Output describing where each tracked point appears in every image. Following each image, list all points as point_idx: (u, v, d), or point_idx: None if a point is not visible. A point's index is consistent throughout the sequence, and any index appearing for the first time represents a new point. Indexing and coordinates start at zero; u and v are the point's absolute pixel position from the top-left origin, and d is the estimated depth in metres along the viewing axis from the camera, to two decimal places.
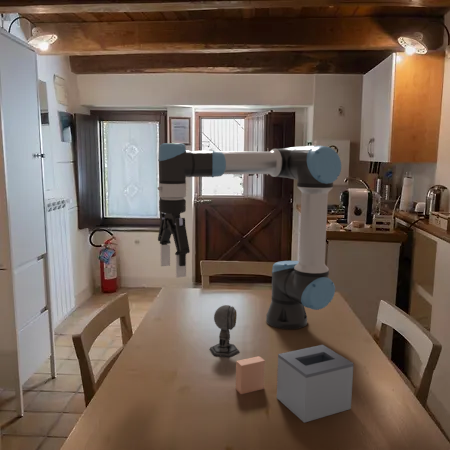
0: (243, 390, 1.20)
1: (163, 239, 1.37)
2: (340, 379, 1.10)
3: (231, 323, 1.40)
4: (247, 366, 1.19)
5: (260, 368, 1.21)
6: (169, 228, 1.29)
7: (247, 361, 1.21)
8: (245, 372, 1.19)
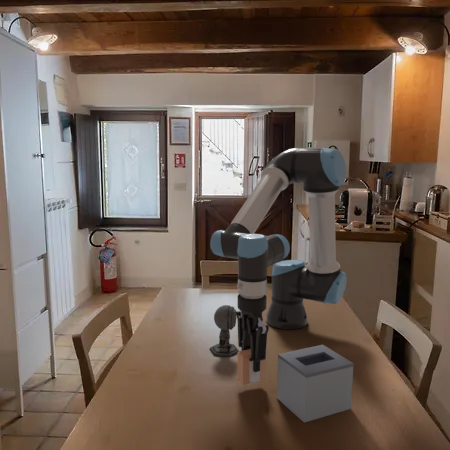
0: (245, 381, 1.20)
1: (245, 344, 1.22)
2: (340, 379, 1.10)
3: (231, 323, 1.40)
4: (248, 357, 1.19)
5: None
6: (248, 327, 1.18)
7: (249, 352, 1.21)
8: (247, 363, 1.19)
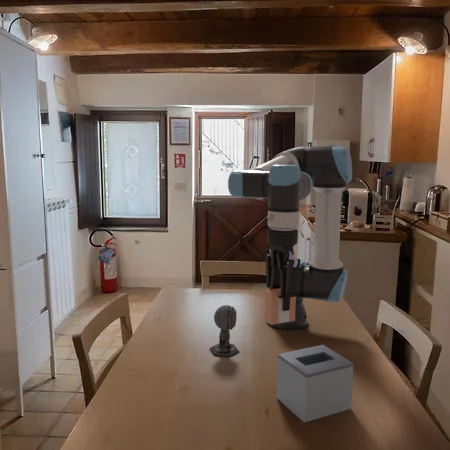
0: (273, 320, 1.13)
1: (274, 283, 1.16)
2: (340, 379, 1.10)
3: (231, 323, 1.40)
4: (277, 295, 1.13)
5: (291, 298, 1.15)
6: (277, 263, 1.12)
7: (278, 290, 1.14)
8: (275, 301, 1.13)
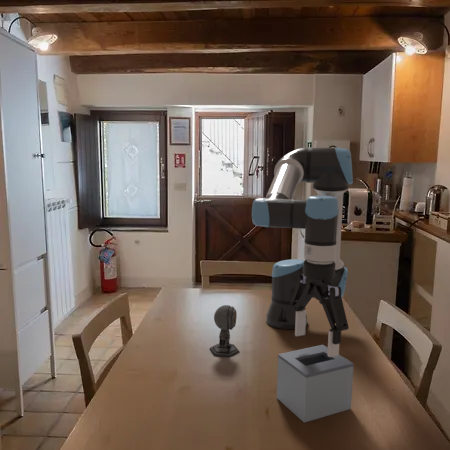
0: None
1: (300, 305, 1.17)
2: (340, 379, 1.10)
3: (231, 323, 1.40)
4: None
5: None
6: (317, 297, 1.08)
7: None
8: None
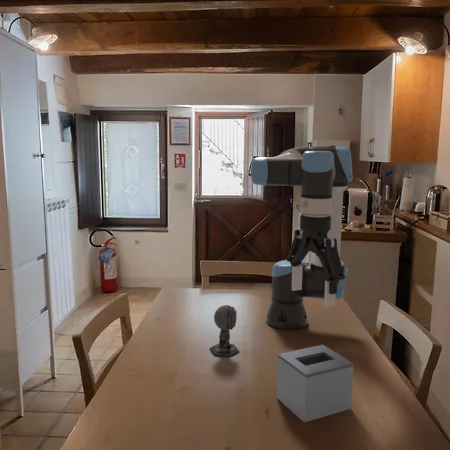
0: None
1: (296, 260, 1.19)
2: (340, 379, 1.10)
3: (231, 323, 1.40)
4: None
5: None
6: (314, 249, 1.11)
7: None
8: None
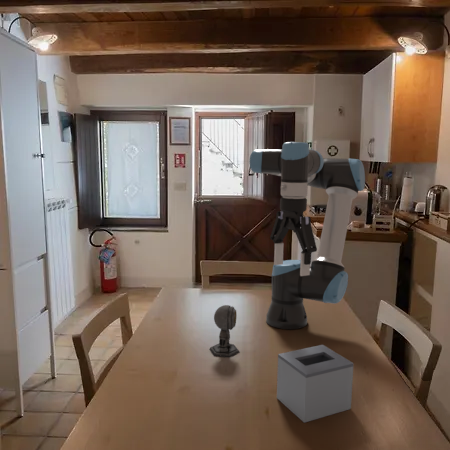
0: None
1: (278, 238, 1.37)
2: (340, 379, 1.10)
3: (231, 323, 1.40)
4: None
5: None
6: (291, 227, 1.29)
7: None
8: None
